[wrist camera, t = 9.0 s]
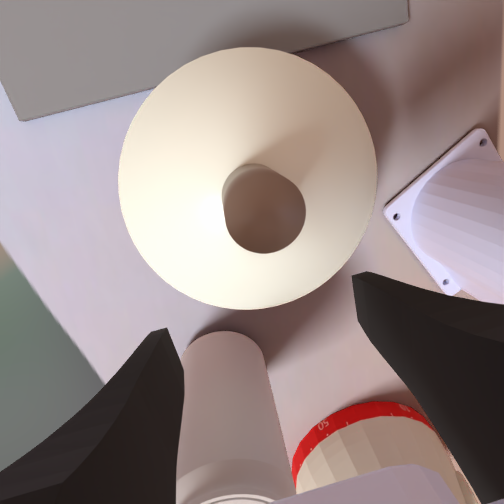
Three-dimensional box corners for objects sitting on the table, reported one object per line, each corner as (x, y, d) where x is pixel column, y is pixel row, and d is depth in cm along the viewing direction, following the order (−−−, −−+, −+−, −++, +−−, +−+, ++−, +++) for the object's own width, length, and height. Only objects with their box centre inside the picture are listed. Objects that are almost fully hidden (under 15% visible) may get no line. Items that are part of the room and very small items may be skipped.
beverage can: (162, 353, 24) (122, 541, 13) (235, 310, 24) (258, 467, 13) (210, 405, 27) (210, 604, 15) (277, 367, 26) (328, 544, 15)
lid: (414, 196, 18) (479, 217, 14) (245, 341, 20) (255, 400, 16) (259, -21, 14) (283, -92, 10) (65, 189, 16) (9, 212, 12)
